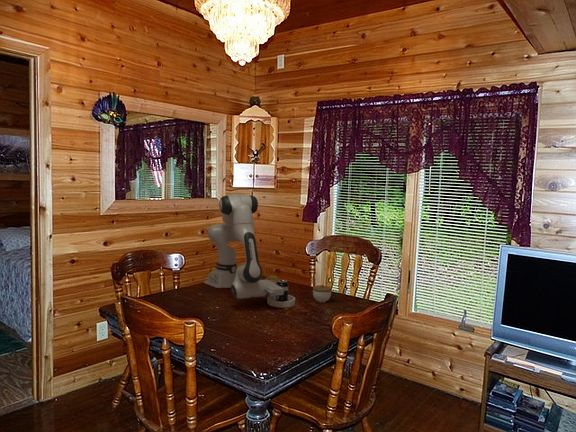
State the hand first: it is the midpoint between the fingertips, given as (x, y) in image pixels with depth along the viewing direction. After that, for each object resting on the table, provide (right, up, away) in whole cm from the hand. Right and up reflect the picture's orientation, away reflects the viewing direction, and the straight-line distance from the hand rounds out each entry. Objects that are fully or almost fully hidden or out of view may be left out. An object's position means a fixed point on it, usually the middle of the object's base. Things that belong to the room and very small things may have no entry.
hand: (283, 286), depth 232 cm
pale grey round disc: (-1, -10, 0) cm, 10 cm away
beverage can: (-1, -9, 0) cm, 9 cm away
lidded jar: (+22, -10, +9) cm, 25 cm away
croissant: (-8, -6, +38) cm, 39 cm away
